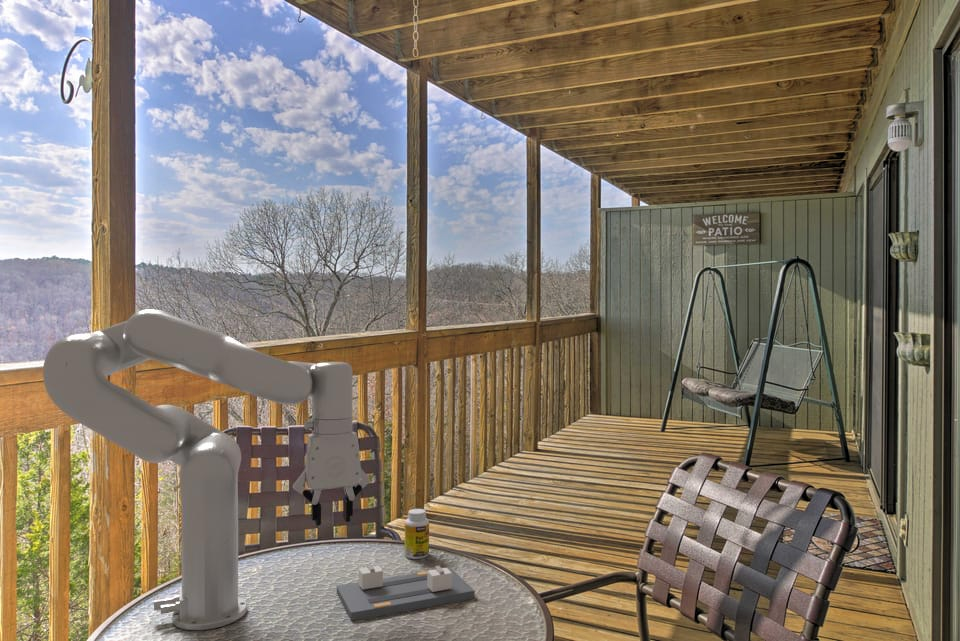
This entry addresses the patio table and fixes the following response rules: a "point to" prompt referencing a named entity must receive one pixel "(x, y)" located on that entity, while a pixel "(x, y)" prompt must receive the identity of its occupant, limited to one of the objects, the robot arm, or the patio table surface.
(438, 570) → the tab near
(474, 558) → the patio table surface
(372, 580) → the tab far
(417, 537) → the supplement bottle
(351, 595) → the switch panel
